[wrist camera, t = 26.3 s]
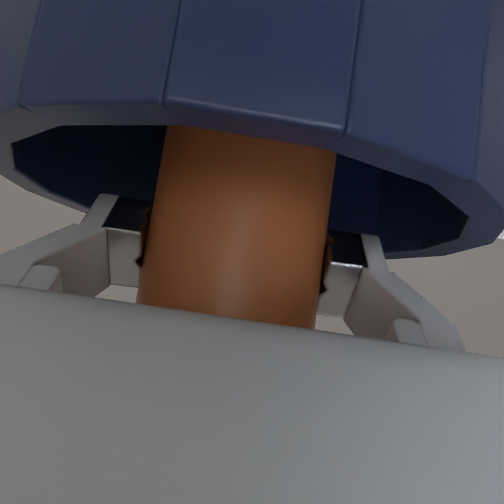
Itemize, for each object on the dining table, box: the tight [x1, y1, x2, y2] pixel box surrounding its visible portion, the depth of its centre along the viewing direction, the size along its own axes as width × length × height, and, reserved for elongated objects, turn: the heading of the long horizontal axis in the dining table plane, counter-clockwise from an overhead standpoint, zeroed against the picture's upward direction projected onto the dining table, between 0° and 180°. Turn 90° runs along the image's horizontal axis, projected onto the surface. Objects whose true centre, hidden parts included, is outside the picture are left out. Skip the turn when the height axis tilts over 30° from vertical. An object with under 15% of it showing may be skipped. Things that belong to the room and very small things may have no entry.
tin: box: [0, 0, 504, 259], centre depth 13 cm, size 13×13×7 cm
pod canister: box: [136, 125, 337, 329], centre depth 12 cm, size 5×5×8 cm
